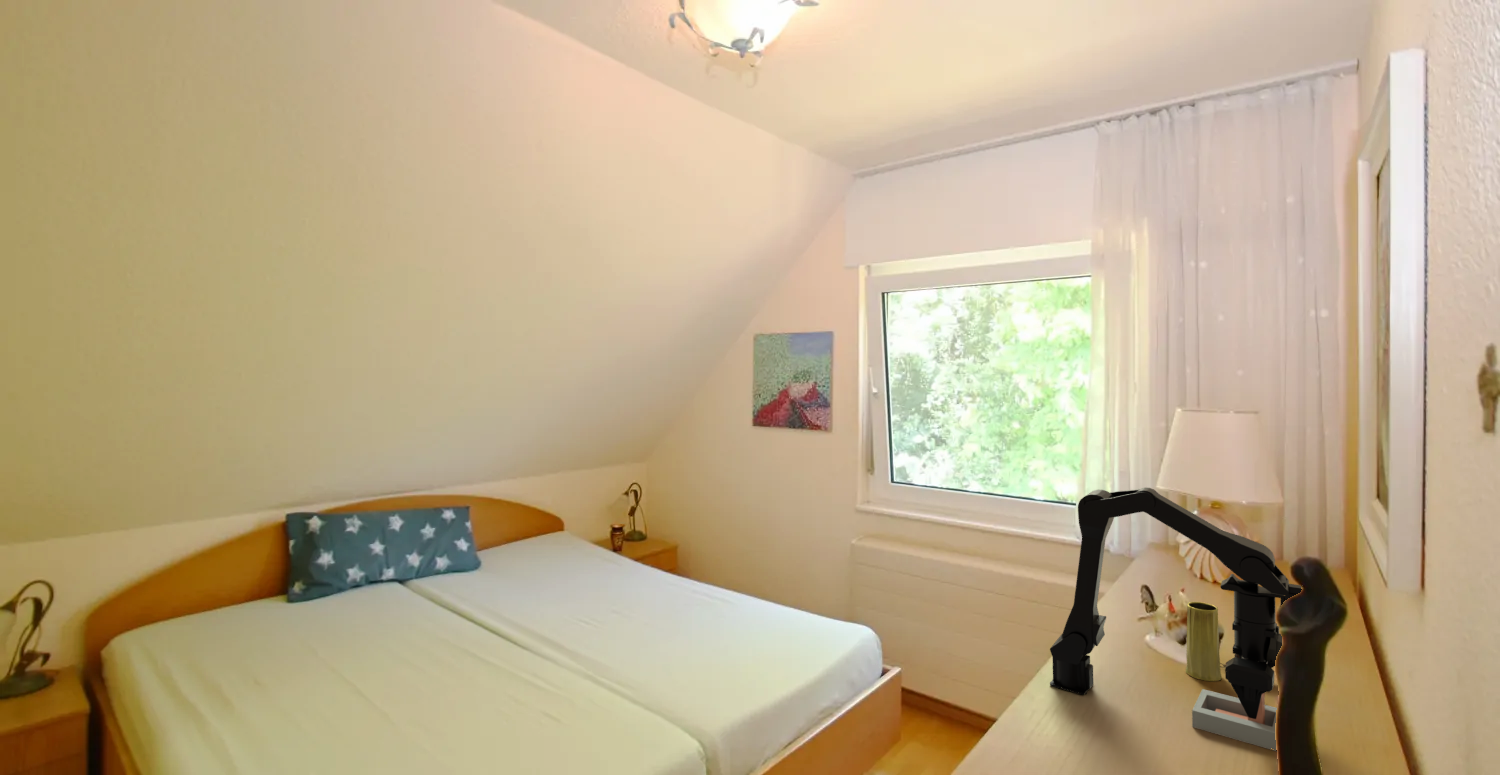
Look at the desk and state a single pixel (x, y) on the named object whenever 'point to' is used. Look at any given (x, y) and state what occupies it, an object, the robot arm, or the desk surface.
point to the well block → (1233, 720)
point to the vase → (1203, 642)
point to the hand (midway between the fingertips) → (1255, 707)
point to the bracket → (1259, 718)
